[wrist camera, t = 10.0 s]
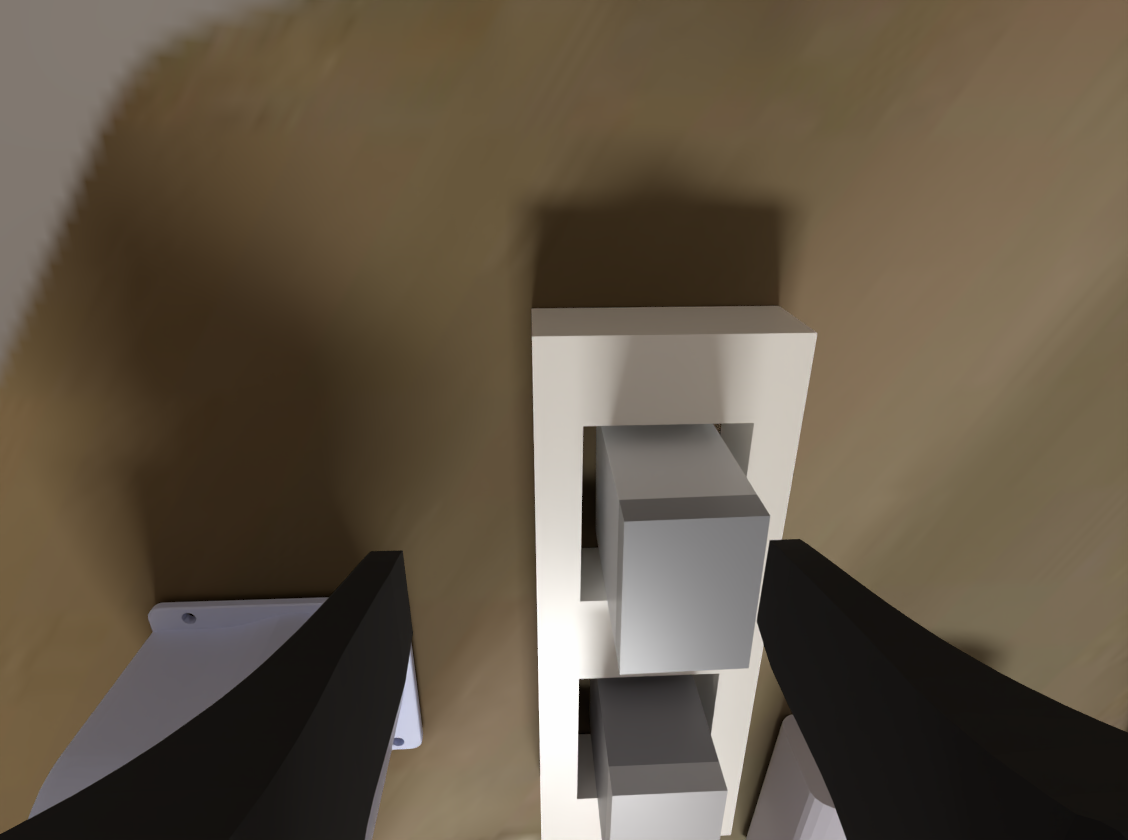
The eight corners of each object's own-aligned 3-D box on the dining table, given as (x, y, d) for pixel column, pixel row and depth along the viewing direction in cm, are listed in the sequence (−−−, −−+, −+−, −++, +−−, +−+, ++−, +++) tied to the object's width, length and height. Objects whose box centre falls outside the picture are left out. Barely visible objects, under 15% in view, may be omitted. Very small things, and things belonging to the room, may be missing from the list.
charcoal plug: (589, 720, 28) (607, 894, 22) (591, 633, 26) (612, 795, 20) (670, 717, 28) (711, 888, 22) (679, 630, 26) (727, 790, 20)
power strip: (540, 778, 29) (542, 864, 26) (531, 308, 20) (532, 345, 17) (712, 770, 30) (736, 854, 26) (779, 305, 21) (829, 341, 17)
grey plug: (595, 529, 24) (619, 674, 18) (596, 407, 22) (624, 521, 16) (690, 525, 24) (748, 668, 18) (700, 403, 22) (770, 515, 16)
